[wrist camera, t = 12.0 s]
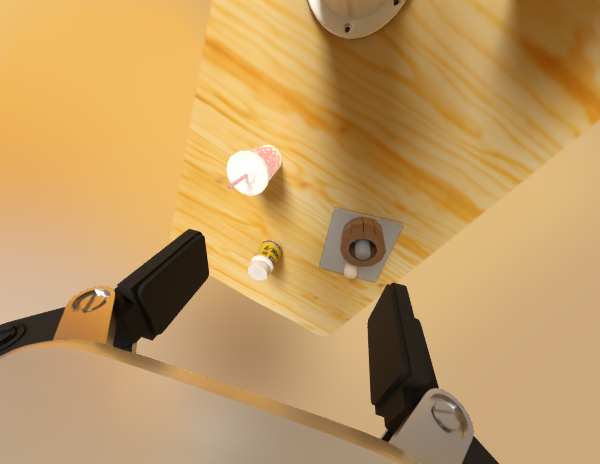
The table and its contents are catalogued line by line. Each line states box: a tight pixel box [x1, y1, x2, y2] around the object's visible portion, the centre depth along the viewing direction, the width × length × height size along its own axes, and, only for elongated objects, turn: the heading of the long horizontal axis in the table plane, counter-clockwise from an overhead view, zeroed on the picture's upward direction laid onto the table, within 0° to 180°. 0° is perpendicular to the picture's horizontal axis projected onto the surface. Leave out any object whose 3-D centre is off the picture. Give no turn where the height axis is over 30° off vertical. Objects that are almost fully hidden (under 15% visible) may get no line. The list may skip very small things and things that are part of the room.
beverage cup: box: [227, 145, 282, 195], centre depth 31 cm, size 6×6×14 cm
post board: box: [319, 207, 403, 283], centre depth 39 cm, size 14×12×7 cm
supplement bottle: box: [248, 239, 282, 281], centre depth 44 cm, size 5×5×8 cm
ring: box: [340, 217, 386, 267], centre depth 37 cm, size 7×7×5 cm
